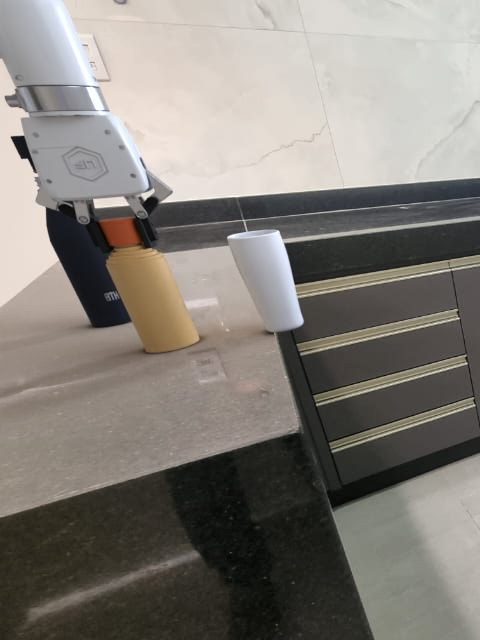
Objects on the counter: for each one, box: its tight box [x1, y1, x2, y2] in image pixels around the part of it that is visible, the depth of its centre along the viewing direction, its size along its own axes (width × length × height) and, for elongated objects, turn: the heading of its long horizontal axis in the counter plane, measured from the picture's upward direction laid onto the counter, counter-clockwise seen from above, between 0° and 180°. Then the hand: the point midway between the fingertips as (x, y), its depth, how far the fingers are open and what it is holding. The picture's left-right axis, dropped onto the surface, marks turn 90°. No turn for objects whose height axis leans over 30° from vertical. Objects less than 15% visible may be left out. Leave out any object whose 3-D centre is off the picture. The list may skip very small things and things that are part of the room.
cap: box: [98, 216, 143, 247], centre depth 73 cm, size 4×4×3 cm
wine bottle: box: [10, 135, 132, 328], centre depth 86 cm, size 6×6×30 cm
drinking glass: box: [226, 229, 305, 334], centre depth 81 cm, size 7×7×15 cm
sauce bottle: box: [106, 242, 200, 354], centre depth 76 cm, size 6×6×18 cm
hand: (130, 247), depth 74 cm, fingers closed on cap, 4 cm apart
